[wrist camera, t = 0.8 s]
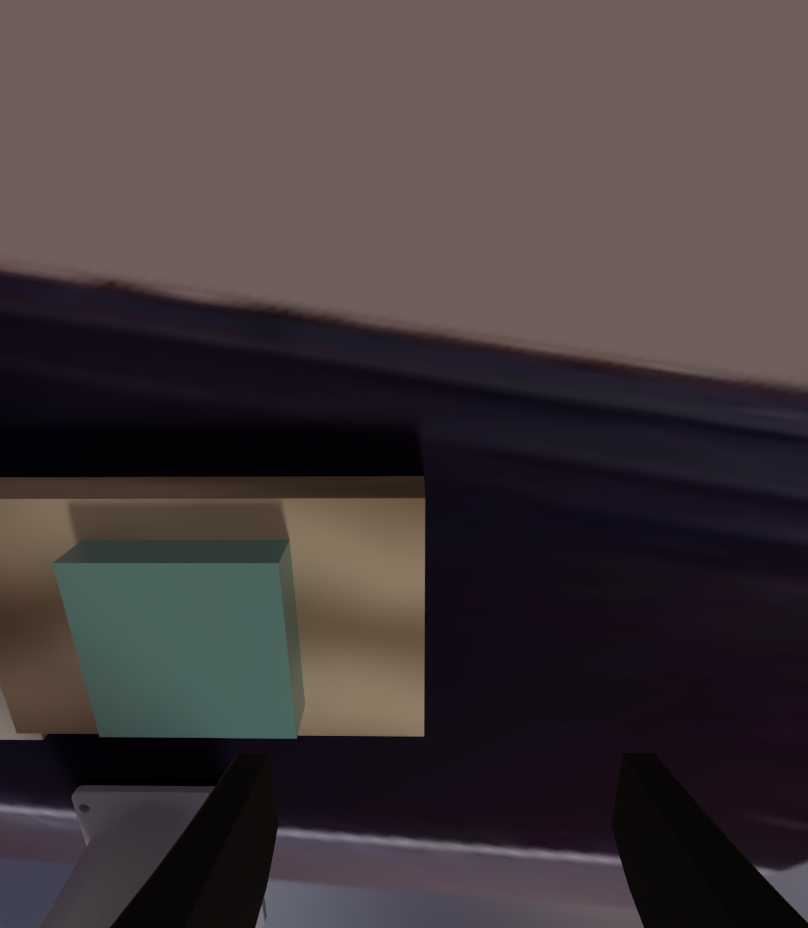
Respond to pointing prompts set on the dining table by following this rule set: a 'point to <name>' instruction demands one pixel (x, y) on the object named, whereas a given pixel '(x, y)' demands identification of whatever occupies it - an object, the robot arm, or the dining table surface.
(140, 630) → the tile
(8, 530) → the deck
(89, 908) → the robot arm
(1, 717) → the mat
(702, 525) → the dining table surface
